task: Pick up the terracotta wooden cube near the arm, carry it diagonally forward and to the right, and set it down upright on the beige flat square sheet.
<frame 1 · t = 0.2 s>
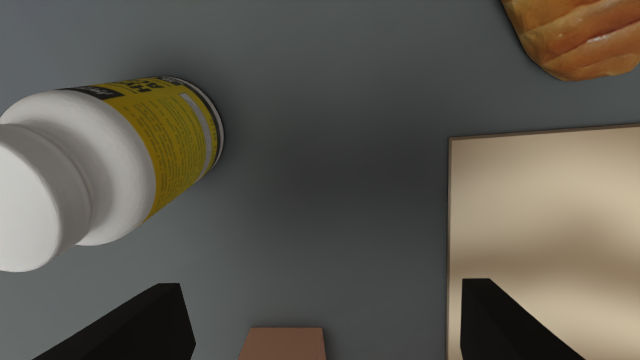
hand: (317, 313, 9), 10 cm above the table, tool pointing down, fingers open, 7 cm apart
beige flat square sheet: (599, 269, 18), on the table
terracotta cube: (290, 354, 23), on the table
supplement bottle: (177, 128, 19), on the table
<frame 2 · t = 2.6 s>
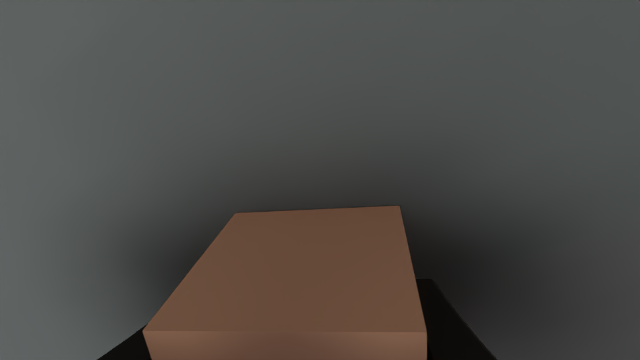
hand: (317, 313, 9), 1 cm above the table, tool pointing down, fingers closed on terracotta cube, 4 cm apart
terracotta cube: (322, 279, 10), on the table, touching gripper
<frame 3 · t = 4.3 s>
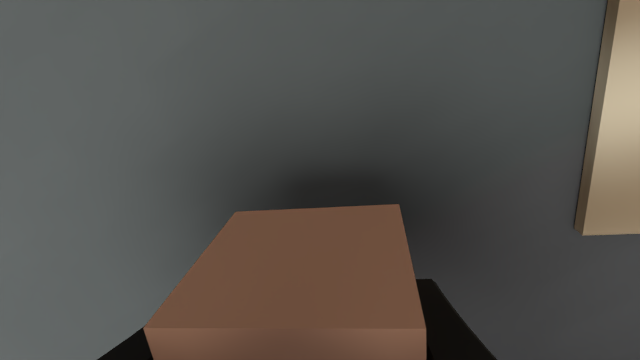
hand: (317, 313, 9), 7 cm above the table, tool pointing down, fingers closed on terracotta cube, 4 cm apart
terracotta cube: (322, 278, 11), point 5 cm above the table, touching gripper
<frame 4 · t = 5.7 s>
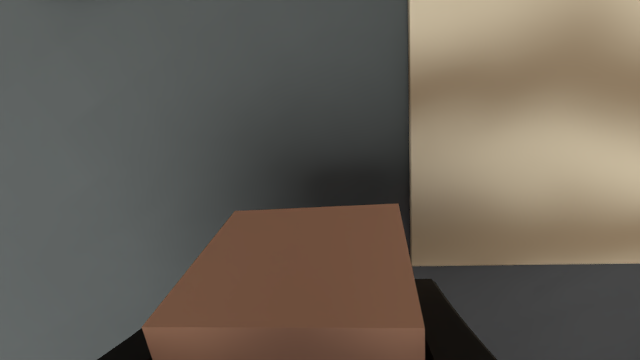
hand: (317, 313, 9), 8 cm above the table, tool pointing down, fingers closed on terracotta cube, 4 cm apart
beige flat square sheet: (602, 92, 14), on the table
terracotta cube: (322, 277, 11), point 7 cm above the table, touching gripper
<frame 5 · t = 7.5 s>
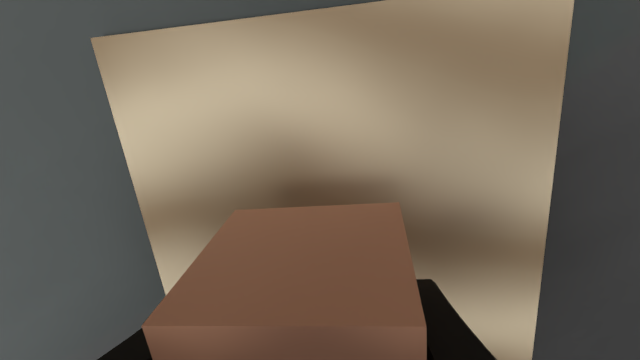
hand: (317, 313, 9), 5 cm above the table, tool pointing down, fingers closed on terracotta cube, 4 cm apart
beige flat square sheet: (333, 221, 14), on the table
terracotta cube: (322, 276, 10), point 4 cm above the table, touching gripper
when the fingers open (3 cm above the table, at t = 8.8 s): terracotta cube drops 1 cm, resting on beige flat square sheet.
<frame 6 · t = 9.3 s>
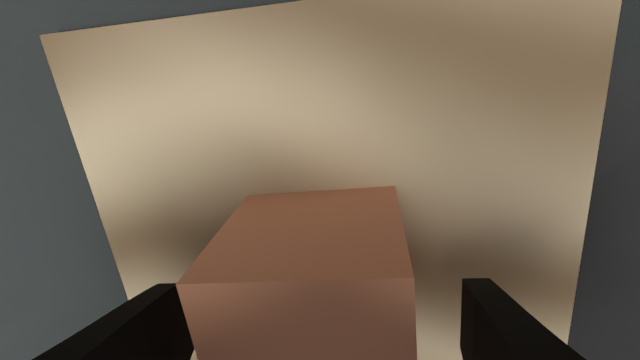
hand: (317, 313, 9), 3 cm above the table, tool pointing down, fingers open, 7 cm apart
beige flat square sheet: (328, 248, 12), on the table
terracotta cube: (326, 255, 12), point 1 cm above the table, touching beige flat square sheet
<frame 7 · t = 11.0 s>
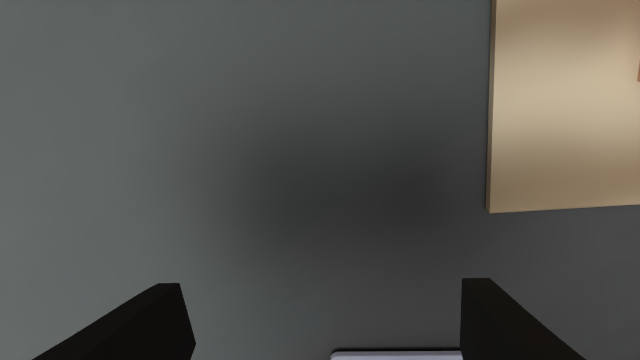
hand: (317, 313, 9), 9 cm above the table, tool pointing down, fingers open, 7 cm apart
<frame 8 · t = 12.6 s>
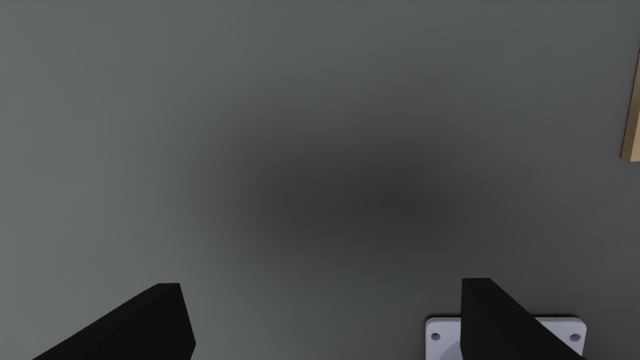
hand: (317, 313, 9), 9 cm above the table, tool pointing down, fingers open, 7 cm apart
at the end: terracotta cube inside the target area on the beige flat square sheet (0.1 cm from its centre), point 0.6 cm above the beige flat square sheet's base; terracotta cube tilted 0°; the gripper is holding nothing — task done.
